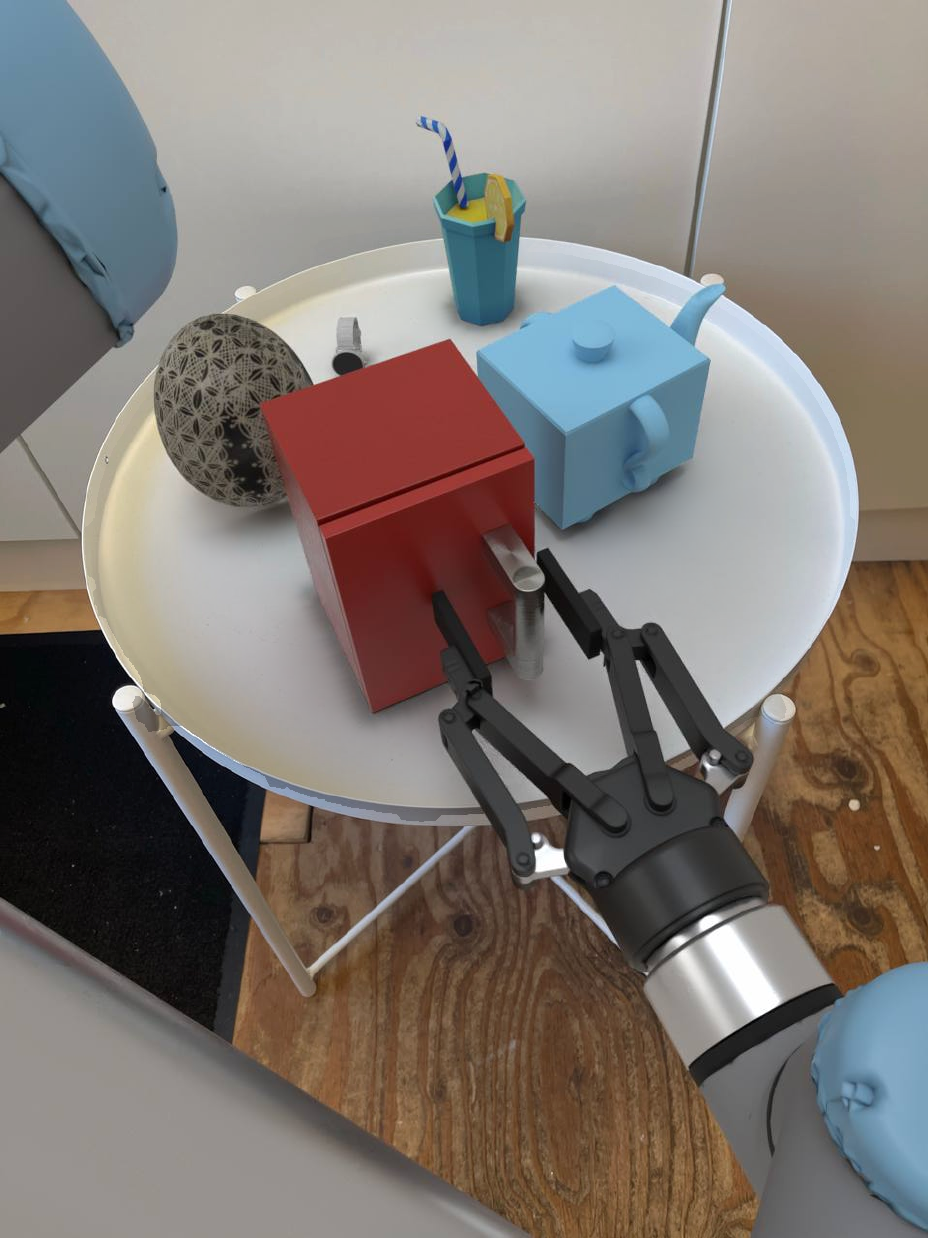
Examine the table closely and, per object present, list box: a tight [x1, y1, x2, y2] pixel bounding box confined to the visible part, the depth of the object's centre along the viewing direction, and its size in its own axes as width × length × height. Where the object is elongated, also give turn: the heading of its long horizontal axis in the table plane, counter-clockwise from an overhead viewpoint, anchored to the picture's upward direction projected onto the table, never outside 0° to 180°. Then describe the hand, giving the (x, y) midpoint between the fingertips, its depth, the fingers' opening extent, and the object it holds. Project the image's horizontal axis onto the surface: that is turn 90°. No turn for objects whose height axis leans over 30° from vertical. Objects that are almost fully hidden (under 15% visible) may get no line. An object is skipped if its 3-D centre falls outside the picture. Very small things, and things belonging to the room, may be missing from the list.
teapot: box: [475, 283, 726, 531], centre depth 71 cm, size 18×16×13 cm
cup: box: [415, 115, 527, 327], centre depth 82 cm, size 14×8×15 cm, turn 37°
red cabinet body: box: [259, 338, 525, 699], centre depth 61 cm, size 10×12×18 cm
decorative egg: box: [153, 313, 315, 508], centre depth 70 cm, size 12×12×15 cm
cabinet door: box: [319, 447, 546, 714], centre depth 56 cm, size 6×12×18 cm, turn 115°
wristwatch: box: [330, 316, 367, 377], centre depth 82 cm, size 3×5×5 cm, turn 1°
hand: (491, 585), depth 57 cm, fingers open, 6 cm apart
